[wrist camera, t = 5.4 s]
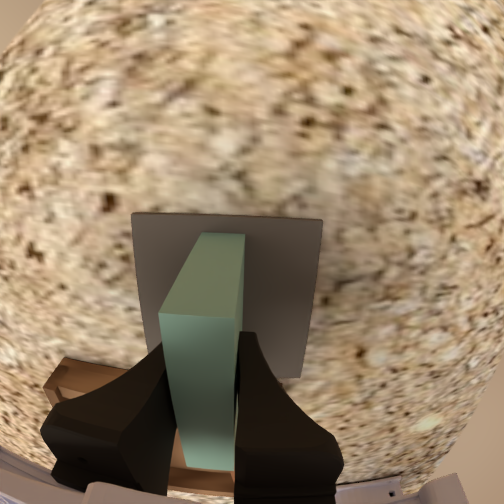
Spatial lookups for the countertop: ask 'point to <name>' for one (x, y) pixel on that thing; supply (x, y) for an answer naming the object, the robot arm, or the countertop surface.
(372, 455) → the countertop surface
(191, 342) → the block
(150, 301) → the mat
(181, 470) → the tray
